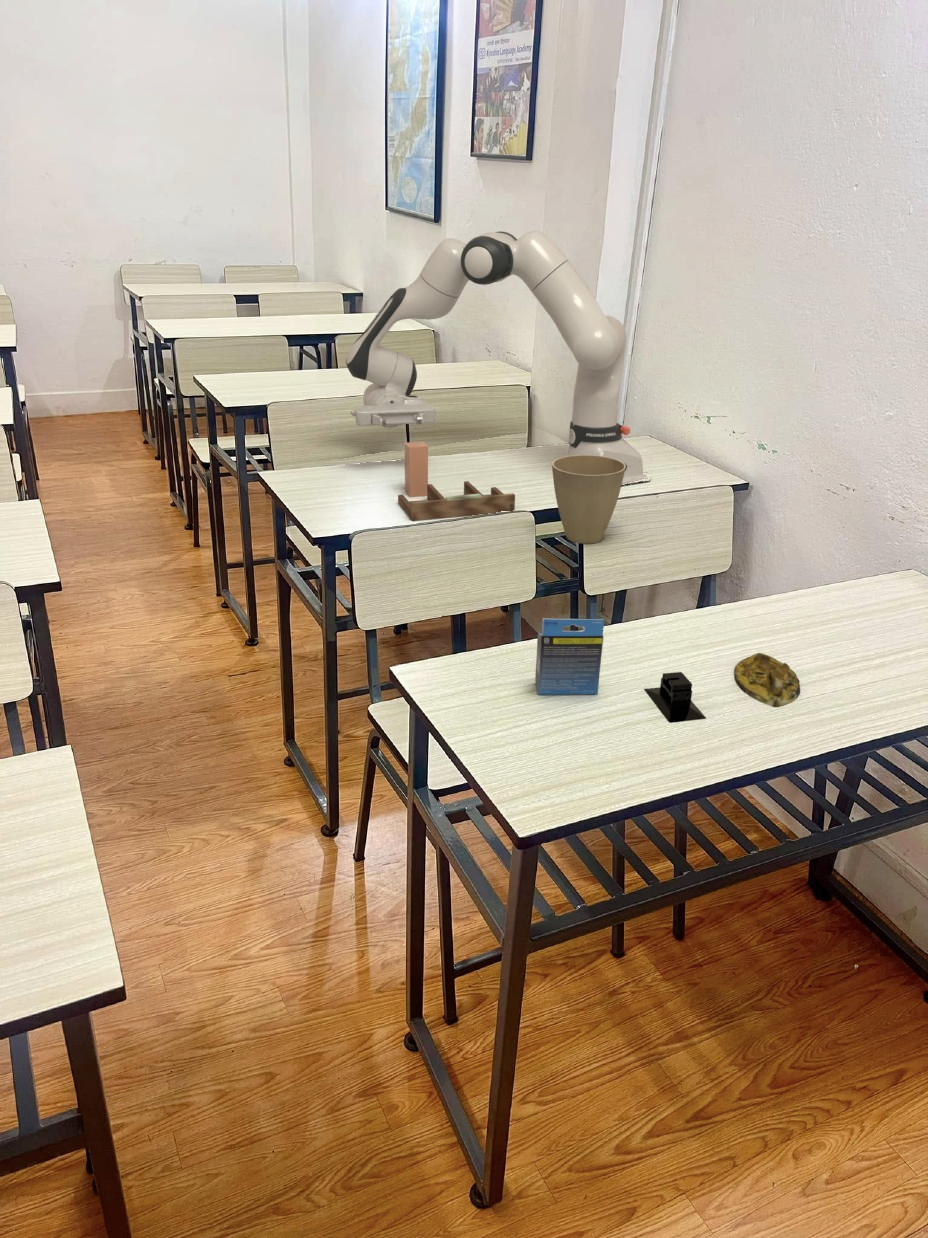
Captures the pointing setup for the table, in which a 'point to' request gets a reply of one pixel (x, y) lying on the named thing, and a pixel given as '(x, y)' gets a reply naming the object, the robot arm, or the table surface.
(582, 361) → the robot arm
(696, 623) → the table surface
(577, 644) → the label tape box
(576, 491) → the plant pot
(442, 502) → the box
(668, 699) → the black stand
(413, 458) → the terracotta block
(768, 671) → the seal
